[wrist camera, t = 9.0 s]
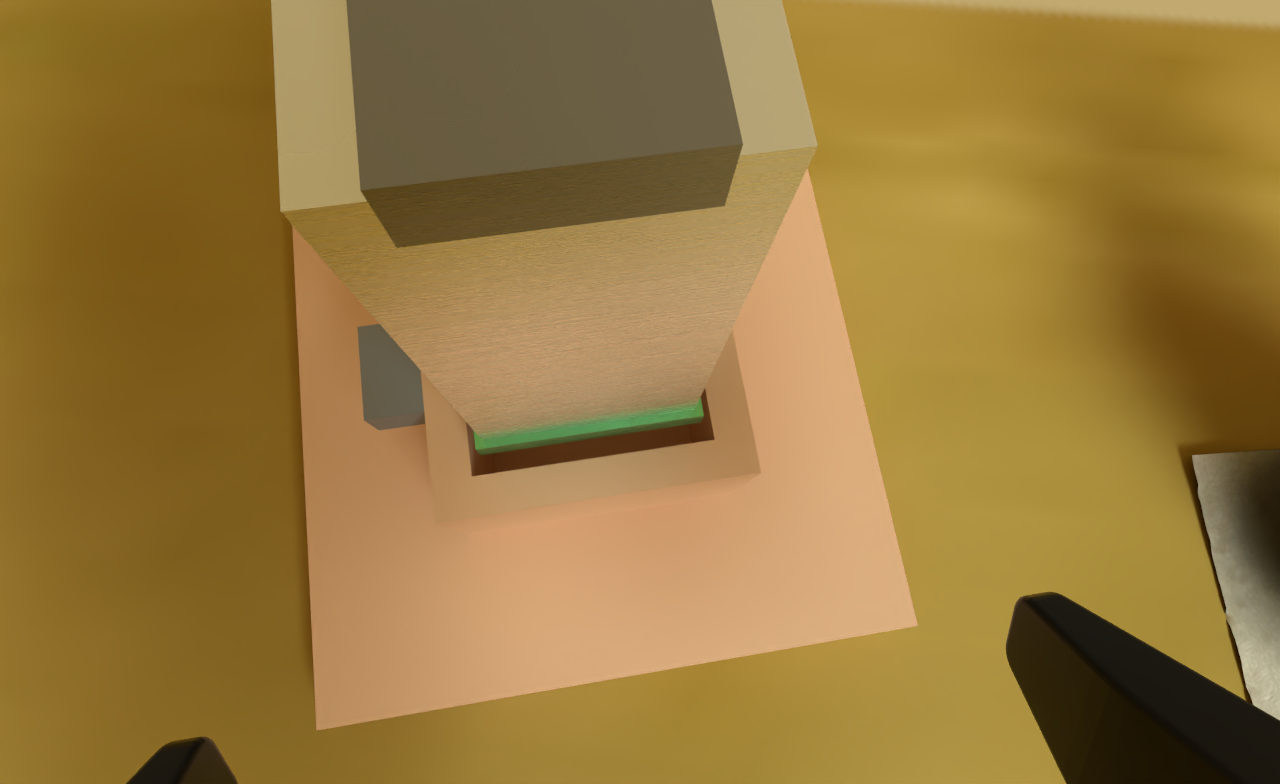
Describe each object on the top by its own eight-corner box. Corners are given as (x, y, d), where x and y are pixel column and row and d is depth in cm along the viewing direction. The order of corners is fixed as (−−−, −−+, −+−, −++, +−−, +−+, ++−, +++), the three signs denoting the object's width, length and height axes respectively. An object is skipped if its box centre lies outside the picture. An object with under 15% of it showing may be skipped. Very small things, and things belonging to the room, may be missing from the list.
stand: (894, 622, 19) (990, 634, 14) (340, 719, 18) (240, 766, 13) (783, 145, 23) (829, 24, 18) (311, 202, 21) (224, 91, 17)
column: (702, 436, 15) (885, 127, 5) (483, 468, 14) (200, 209, 4) (661, 216, 16) (744, -393, 6) (458, 242, 16) (193, -356, 6)
